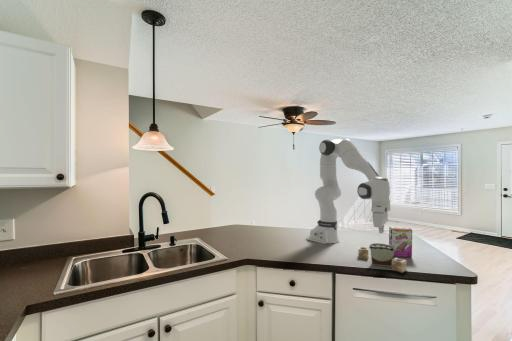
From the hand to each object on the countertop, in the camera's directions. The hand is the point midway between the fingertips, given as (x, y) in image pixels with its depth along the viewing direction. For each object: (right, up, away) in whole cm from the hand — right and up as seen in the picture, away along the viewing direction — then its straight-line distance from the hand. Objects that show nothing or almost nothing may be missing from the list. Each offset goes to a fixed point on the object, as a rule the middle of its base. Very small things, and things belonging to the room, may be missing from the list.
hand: (381, 232), depth 134 cm
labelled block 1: (-5, -17, +10) cm, 20 cm away
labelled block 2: (+5, -17, -8) cm, 19 cm away
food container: (0, -17, 0) cm, 17 cm away
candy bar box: (+17, -17, +12) cm, 26 cm away
